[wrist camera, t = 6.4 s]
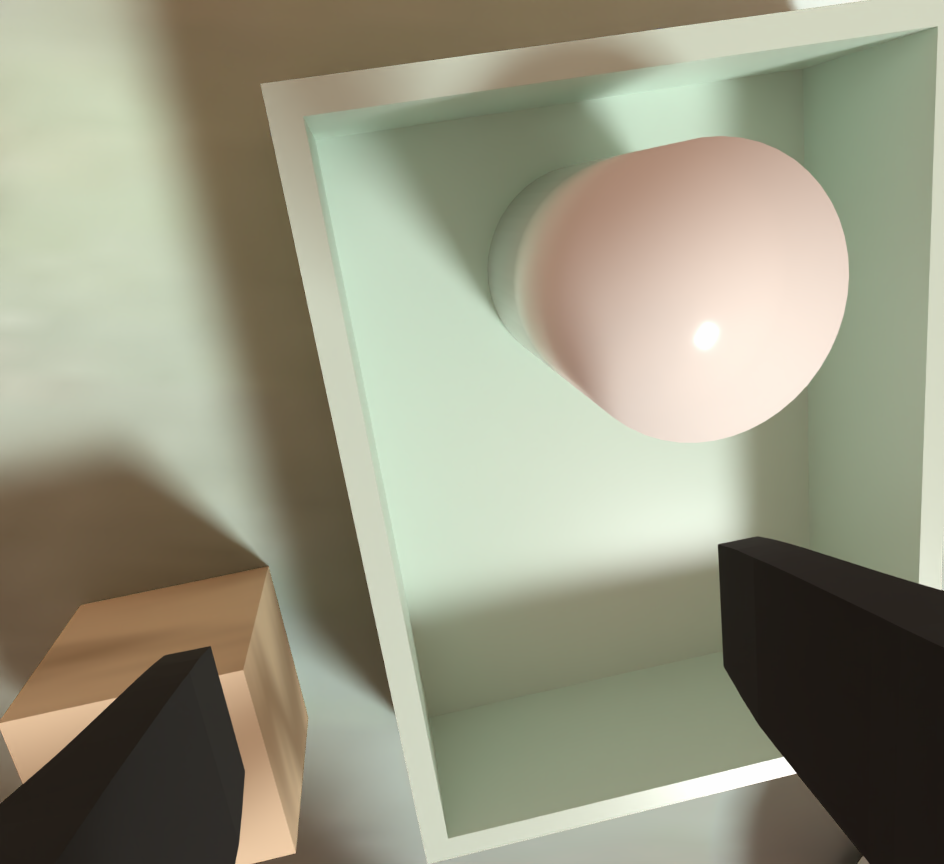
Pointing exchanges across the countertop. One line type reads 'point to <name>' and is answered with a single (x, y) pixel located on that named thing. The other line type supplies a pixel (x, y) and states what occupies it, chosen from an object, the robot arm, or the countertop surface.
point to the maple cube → (171, 631)
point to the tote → (585, 423)
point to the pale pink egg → (676, 283)
